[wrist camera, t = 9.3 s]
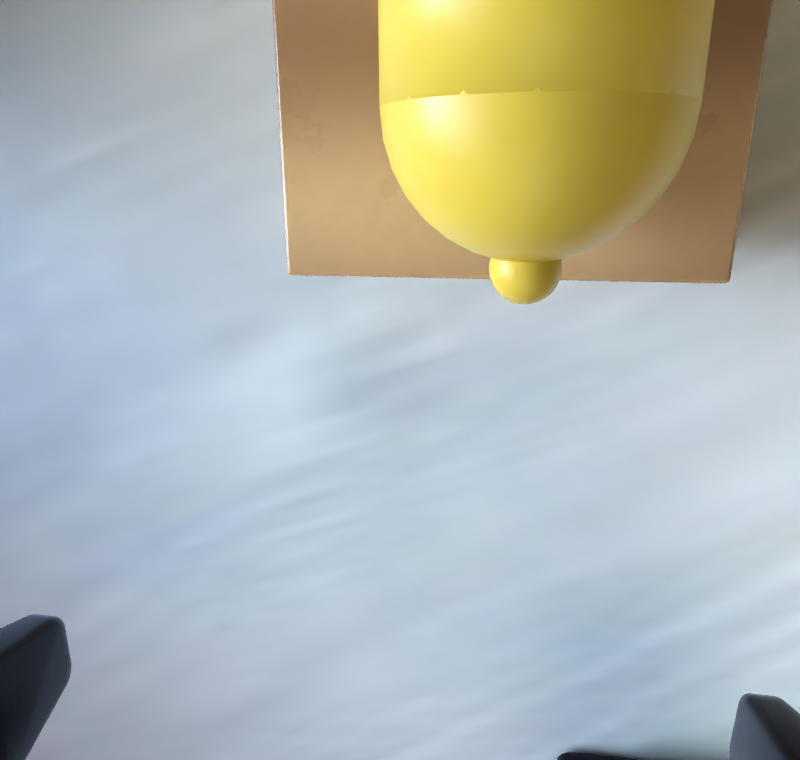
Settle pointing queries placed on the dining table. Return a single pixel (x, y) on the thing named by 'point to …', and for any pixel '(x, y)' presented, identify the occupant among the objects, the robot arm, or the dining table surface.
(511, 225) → the lemon
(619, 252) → the maple block
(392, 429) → the dining table surface
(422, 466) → the dining table surface
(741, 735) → the robot arm
